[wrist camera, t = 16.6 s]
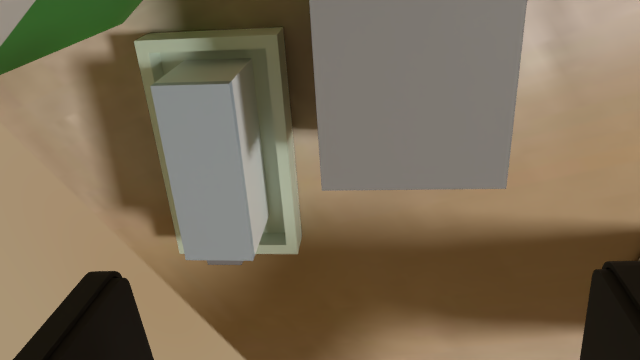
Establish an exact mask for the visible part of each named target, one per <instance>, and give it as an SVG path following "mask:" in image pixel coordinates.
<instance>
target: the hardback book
mask: <svg viewBox="0 0 640 360" xmlns="http://www.w3.org/2000/svg"><path fill="white" fill-rule="evenodd" d="M142 1H143V0H0V75H1V74H4V73H6V72H8V71H11V70H13V69H15V68H18V67H20V66H23V65H25V64H27V63H30V62H32V61H34V60H37V59H39V58H42V57H44V56H46V55H49V54H51V53H53V52H56V51H58V50H61V49H63V48H65V47H68V46H70V45H72V44H75V43H77V42H80V41H82V40H84V39H87V38H89V37H91V36H94V35H96V34H99V33H101V32H103V31H106V30H108V29H110V28H113V27H115V26H118V25H120V24H122V23H123V22H124V21H125V20H126V19H127V18H128V17H129V15H130V14H131V13H132V12H133V11H134V10H135V9H136V7H137V6H138V5H139V4H140V3H141V2H142Z"/></svg>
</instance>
